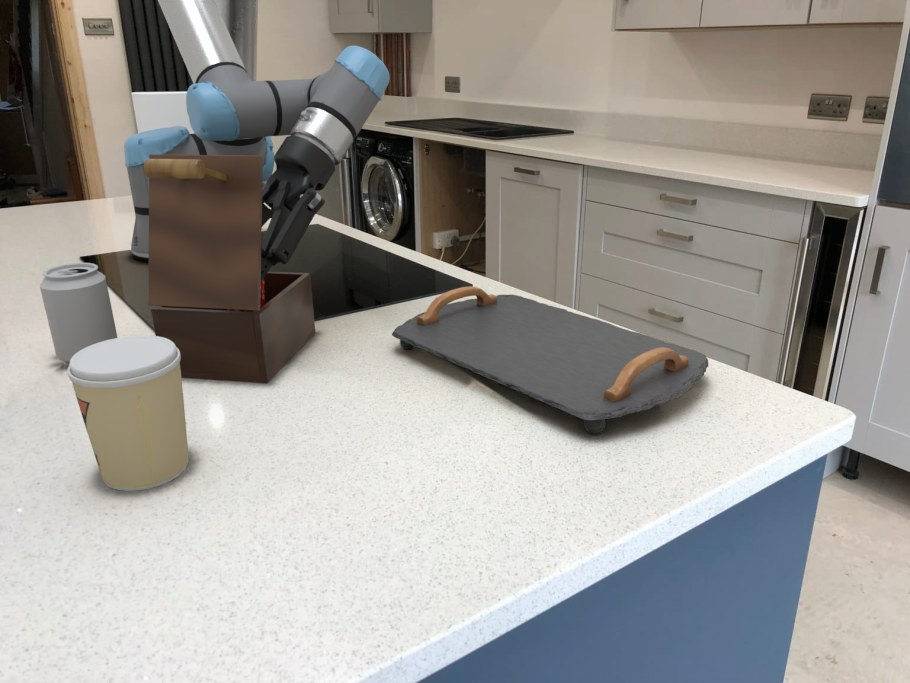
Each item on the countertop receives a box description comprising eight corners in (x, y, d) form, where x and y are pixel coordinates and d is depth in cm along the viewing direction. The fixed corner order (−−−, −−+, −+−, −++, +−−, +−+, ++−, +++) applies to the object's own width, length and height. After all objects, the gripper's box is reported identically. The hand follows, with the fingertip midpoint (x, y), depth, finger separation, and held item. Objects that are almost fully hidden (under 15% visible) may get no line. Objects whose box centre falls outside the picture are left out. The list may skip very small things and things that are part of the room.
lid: (152, 155, 85) (110, 142, 77) (263, 156, 83) (230, 143, 75) (151, 305, 86) (110, 307, 79) (260, 310, 84) (228, 312, 77)
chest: (225, 328, 105) (216, 269, 101) (315, 333, 102) (310, 273, 99) (162, 376, 90) (150, 308, 86) (267, 383, 87) (259, 314, 84)
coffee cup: (113, 446, 74) (89, 336, 69) (207, 441, 75) (190, 331, 70) (76, 499, 65) (46, 377, 61) (184, 493, 66) (162, 372, 61)
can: (133, 349, 98) (116, 262, 93) (90, 371, 91) (70, 279, 87) (88, 342, 100) (70, 257, 96) (44, 364, 94) (22, 273, 89)
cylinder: (212, 218, 172) (195, 93, 162) (139, 219, 173) (117, 94, 162) (234, 204, 188) (219, 89, 178) (167, 204, 189) (149, 90, 178)
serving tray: (375, 345, 98) (372, 301, 96) (498, 306, 112) (498, 266, 110) (610, 454, 71) (615, 397, 69) (733, 384, 85) (740, 335, 83)
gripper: (252, 128, 101) (159, 268, 96) (340, 137, 88) (238, 299, 84) (289, 162, 106) (202, 297, 101) (376, 176, 94) (282, 329, 89)
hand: (219, 297), depth 92 cm, fingers closed on beverage cup, 6 cm apart
